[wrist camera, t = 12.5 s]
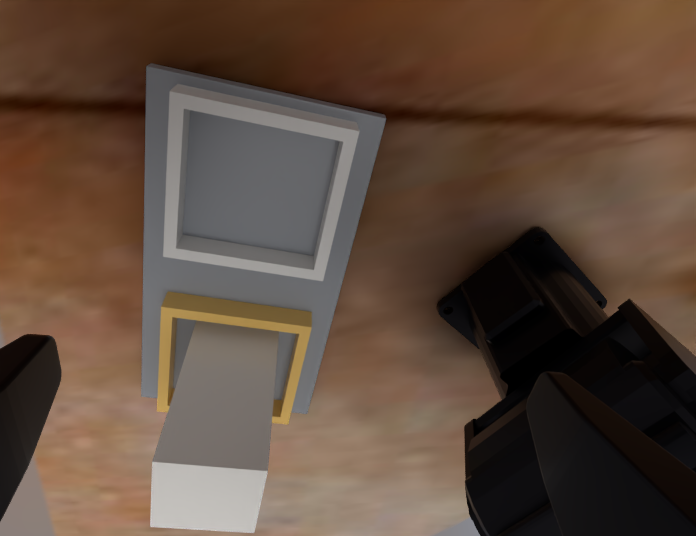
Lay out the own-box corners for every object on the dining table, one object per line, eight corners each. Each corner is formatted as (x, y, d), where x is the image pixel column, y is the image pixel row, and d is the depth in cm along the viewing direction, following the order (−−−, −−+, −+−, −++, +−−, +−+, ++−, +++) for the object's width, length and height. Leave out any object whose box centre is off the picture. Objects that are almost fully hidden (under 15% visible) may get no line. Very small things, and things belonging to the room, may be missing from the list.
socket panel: (150, 63, 18) (136, 72, 17) (384, 114, 20) (390, 127, 18) (144, 388, 27) (134, 414, 25) (307, 405, 28) (307, 431, 27)
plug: (197, 318, 24) (152, 461, 17) (279, 329, 24) (267, 471, 18) (191, 386, 26) (150, 535, 19) (266, 394, 27) (252, 541, 20)
